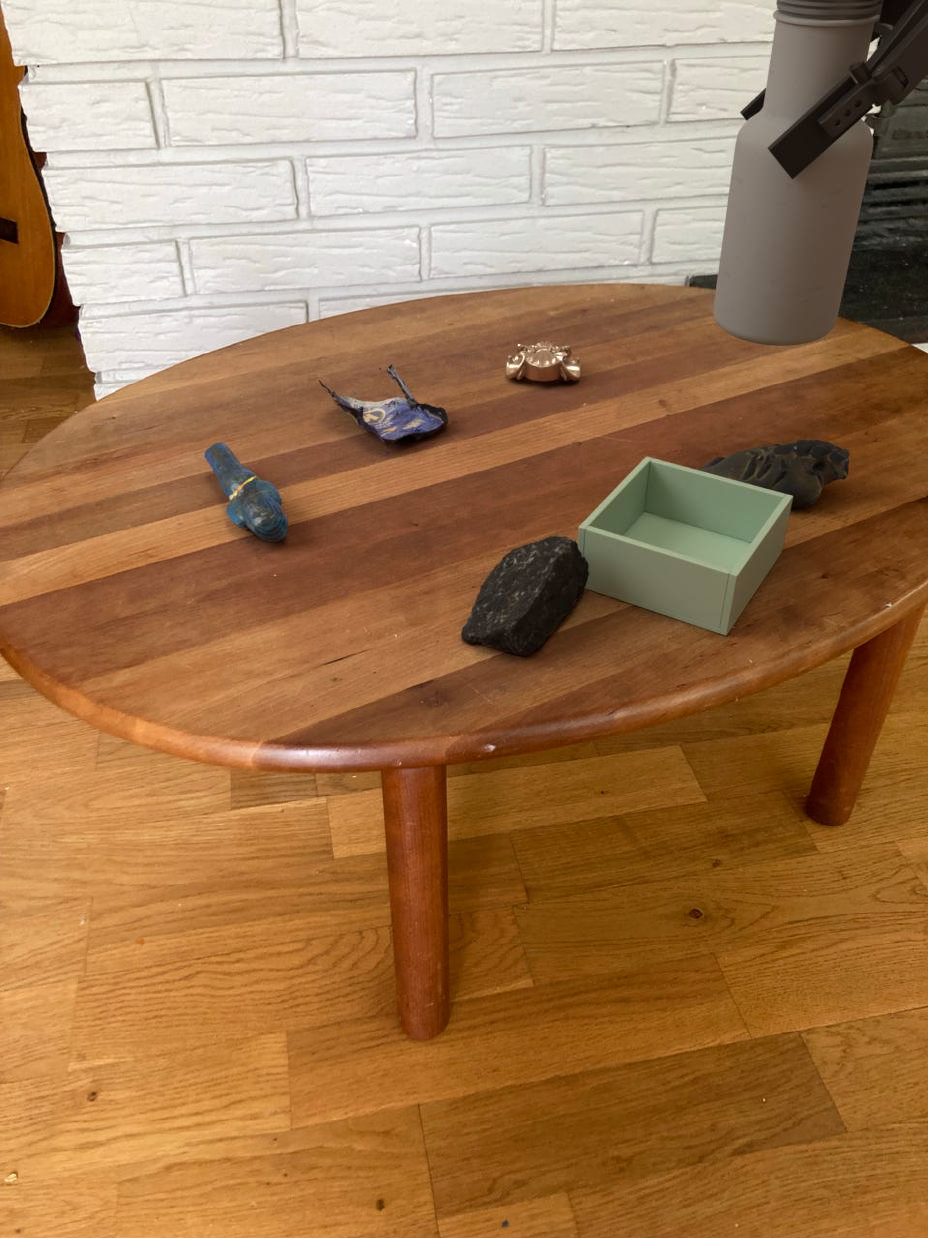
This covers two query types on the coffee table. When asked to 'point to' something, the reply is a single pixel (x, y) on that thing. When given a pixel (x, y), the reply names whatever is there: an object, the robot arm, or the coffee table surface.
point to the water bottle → (796, 184)
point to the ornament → (543, 363)
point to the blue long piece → (248, 495)
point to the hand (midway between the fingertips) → (764, 144)
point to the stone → (786, 468)
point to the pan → (684, 543)
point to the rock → (527, 595)
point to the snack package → (393, 414)
